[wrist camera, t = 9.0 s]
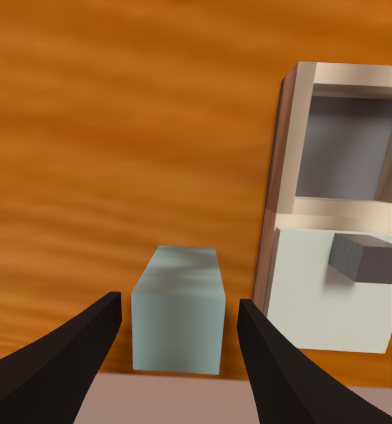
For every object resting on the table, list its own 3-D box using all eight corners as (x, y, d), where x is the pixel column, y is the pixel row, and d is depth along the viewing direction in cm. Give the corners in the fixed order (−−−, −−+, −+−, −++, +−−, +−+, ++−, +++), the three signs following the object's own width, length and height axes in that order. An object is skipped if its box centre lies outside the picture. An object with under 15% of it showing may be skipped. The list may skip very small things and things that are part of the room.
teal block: (215, 248, 14) (226, 299, 9) (211, 298, 15) (218, 374, 10) (158, 245, 14) (130, 294, 9) (158, 294, 15) (133, 369, 10)
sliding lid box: (413, 86, 12) (455, 68, 10) (351, 317, 15) (373, 337, 13) (282, 80, 12) (298, 61, 10) (251, 311, 15) (259, 331, 14)
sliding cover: (411, 234, 11) (471, 251, 9) (376, 345, 13) (418, 385, 11) (276, 227, 12) (298, 242, 9) (259, 338, 13) (274, 377, 11)
